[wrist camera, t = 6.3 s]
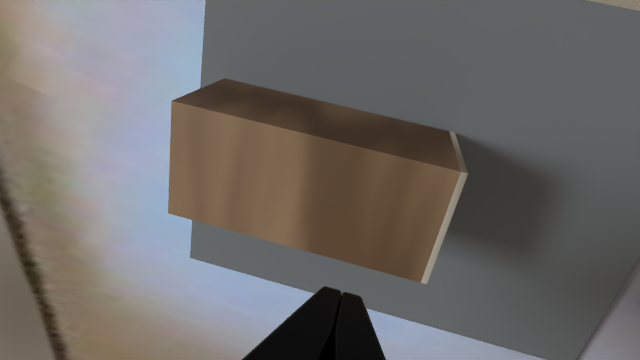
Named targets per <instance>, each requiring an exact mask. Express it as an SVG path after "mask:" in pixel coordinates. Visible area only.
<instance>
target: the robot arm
mask: <svg viewBox="0 0 640 360" xmlns="http://www.w3.org/2000/svg"><path fill="white" fill-rule="evenodd" d="M242 360H386V359H385V356H384V354H383V351H382V349H381V346H380V343H379V341H378V338H377V336H376V333H375V331H374V328H373V325H372V323H371V320H370V318H369V315H368V313H367V310H366V307H365V305H364V302H363V300H362V298H361V297H360V296H359V295H355V294H352V293H348V292H343V293H342V295H341V291H340V290H338V289H334V288H331V287H327V286H324V287H322V288H321V289H320V290H318V291H317V292H316V293H315V294H314V295H313V296H312V297H311V298H310V299H308V300H307V301H306V302H305V303H304V304H303V305H302V306H301V307H300V308H298V309H297V310H296V311H295V312H294V313H293V314H292V315H291V316H290V317H289V318H287V319H286V320H285V321H284V322H283V323H282V324H281V325H280V326H279V327H277V328H276V329H275V330H274V331H273V332H272V333H271V334H270V335H269V336H267V337H266V338H265V339H264V340H263V341H262V342H261V343H260V344H259V345H257V346H256V347H255V348H254V349H253V350H252V351H251V352H250V353H249V354H248V355H246V356H245V357H244V358H243V359H242Z"/></svg>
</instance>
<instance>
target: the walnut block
mask: <svg viewBox="0 0 640 360" xmlns="http://www.w3.org/2000/svg"><path fill="white" fill-rule="evenodd" d="M467 175H468V172H467V169H466V166H465V162H464V159H463V156H462V153H461V150H460V147H459V144H458V141H457V138H456V135H455V132H451V131H446V130H442V129H438V128H434V127H429V126H425V125H421V124H417V123H412V122H408V121H404V120H400V119H396V118H391V117H387V116H383V115H379V114H374V113H370V112H366V111H362V110H357V109H353V108H349V107H345V106H340V105H336V104H332V103H328V102H324V101H319V100H315V99H311V98H307V97H302V96H298V95H294V94H290V93H285V92H281V91H277V90H273V89H268V88H264V87H260V86H256V85H252V84H247V83H243V82H239V81H235V80H230V79H226V78H224V79H222V80H219V81H217V82H215V83H212V84H210V85H208V86H205V87H203V88H201V89H198V90H196V91H194V92H191V93H189V94H187V95H184V96H182V97H180V98H177V99H175V100H173V101H172V108H171V140H170V172H169V204H168V213H170V214H173V215H177V216H180V217H184V218H188V219H191V220H195V221H199V222H202V223H206V224H209V225H213V226H217V227H220V228H224V229H228V230H231V231H235V232H238V233H242V234H246V235H249V236H253V237H257V238H260V239H264V240H267V241H271V242H275V243H278V244H282V245H286V246H289V247H293V248H297V249H300V250H304V251H307V252H311V253H315V254H318V255H322V256H326V257H329V258H333V259H336V260H340V261H344V262H347V263H351V264H355V265H358V266H362V267H365V268H369V269H373V270H376V271H380V272H384V273H387V274H391V275H394V276H398V277H402V278H405V279H409V280H413V281H416V282H420V283H424V284H427V282H428V280H429V277H430V274H431V272H432V269H433V266H434V264H435V261H436V258H437V256H438V253H439V250H440V248H441V245H442V242H443V240H444V237H445V234H446V232H447V229H448V226H449V224H450V221H451V218H452V216H453V213H454V210H455V207H456V205H457V202H458V199H459V197H460V194H461V191H462V189H463V186H464V183H465V181H466V178H467Z"/></svg>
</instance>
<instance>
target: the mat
mask: <svg viewBox="0 0 640 360" xmlns="http://www.w3.org/2000/svg"><path fill="white" fill-rule="evenodd" d="M224 78H226V79H230V80H235V81H239V82H243V83H247V84H252V85H256V86H260V87H264V88H268V89H273V90H277V91H281V92H285V93H290V94H294V95H298V96H302V97H307V98H311V99H315V100H319V101H324V102H328V103H332V104H336V105H340V106H345V107H349V108H353V109H357V110H362V111H366V112H370V113H374V114H379V115H383V116H387V117H391V118H396V119H400V120H404V121H408V122H412V123H417V124H421V125H425V126H429V127H434V128H438V129H442V130H446V131H451V132H455V135H456V138H457V141H458V144H459V147H460V150H461V153H462V156H463V159H464V162H465V166H466V169H467V172H468V175H467V178H466V181H465V183H464V186H463V189H462V191H461V194H460V197H459V199H458V202H457V205H456V207H455V210H454V213H453V216H452V218H451V221H450V224H449V226H448V229H447V232H446V234H445V237H444V240H443V242H442V245H441V248H440V250H439V253H438V256H437V258H436V261H435V264H434V266H433V269H432V272H431V274H430V277H429V280H428V282H427V284H424V283H420V282H416V281H413V280H409V279H405V278H402V277H398V276H394V275H391V274H387V273H384V272H380V271H376V270H373V269H369V268H365V267H362V266H358V265H355V264H351V263H347V262H344V261H340V260H336V259H333V258H329V257H326V256H322V255H318V254H315V253H311V252H307V251H304V250H300V249H297V248H293V247H289V246H286V245H282V244H278V243H275V242H271V241H267V240H264V239H260V238H257V237H253V236H249V235H246V234H242V233H238V232H235V231H231V230H228V229H224V228H220V227H217V226H213V225H209V224H206V223H202V222H199V221H195V220H192V235H191V252H190V258H193V259H196V260H200V261H203V262H207V263H210V264H214V265H217V266H221V267H224V268H228V269H231V270H235V271H238V272H242V273H245V274H249V275H252V276H256V277H259V278H263V279H266V280H270V281H273V282H277V283H280V284H284V285H287V286H291V287H294V288H298V289H301V290H305V291H308V292H312V293H316V292H317V291H318V290H320V289H321V288H322V287H324V286H327V287H331V288H334V289H338V290H340V291H341V295H342V293H343V292H348V293H352V294H355V295H359V296H360V297H361V298H362V300H363V302H364V305H365V307H366V308H368V309H371V310H375V311H378V312H382V313H385V314H389V315H392V316H396V317H399V318H403V319H406V320H410V321H413V322H417V323H420V324H424V325H427V326H431V327H434V328H438V329H441V330H445V331H448V332H452V333H455V334H459V335H462V336H466V337H469V338H473V339H476V340H480V341H483V342H487V343H490V344H494V345H497V346H501V347H504V348H508V349H511V350H515V351H518V352H522V353H525V354H529V355H532V356H536V357H539V358H543V359H546V360H576V359H577V357H578V355H579V354H580V352H581V351H582V349H583V347H584V346H585V344H586V343H587V341H588V339H589V338H590V336H591V335H592V333H593V332H594V330H595V328H596V327H597V325H598V324H599V322H600V320H601V319H602V317H603V316H604V314H605V313H606V311H607V309H608V308H609V306H610V305H611V303H612V301H613V300H614V298H615V297H616V295H617V293H618V292H619V290H620V289H621V287H622V286H623V284H624V282H625V281H626V279H627V278H628V276H629V274H630V273H631V271H632V270H633V268H634V267H635V265H636V263H637V262H638V260H639V259H640V11H635V10H630V9H625V8H620V7H615V6H610V5H605V4H600V3H595V2H590V1H585V0H206V5H205V21H204V38H203V54H202V71H201V87H200V89H201V88H203V87H205V86H208V85H210V84H212V83H215V82H217V81H219V80H222V79H224Z"/></svg>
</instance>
